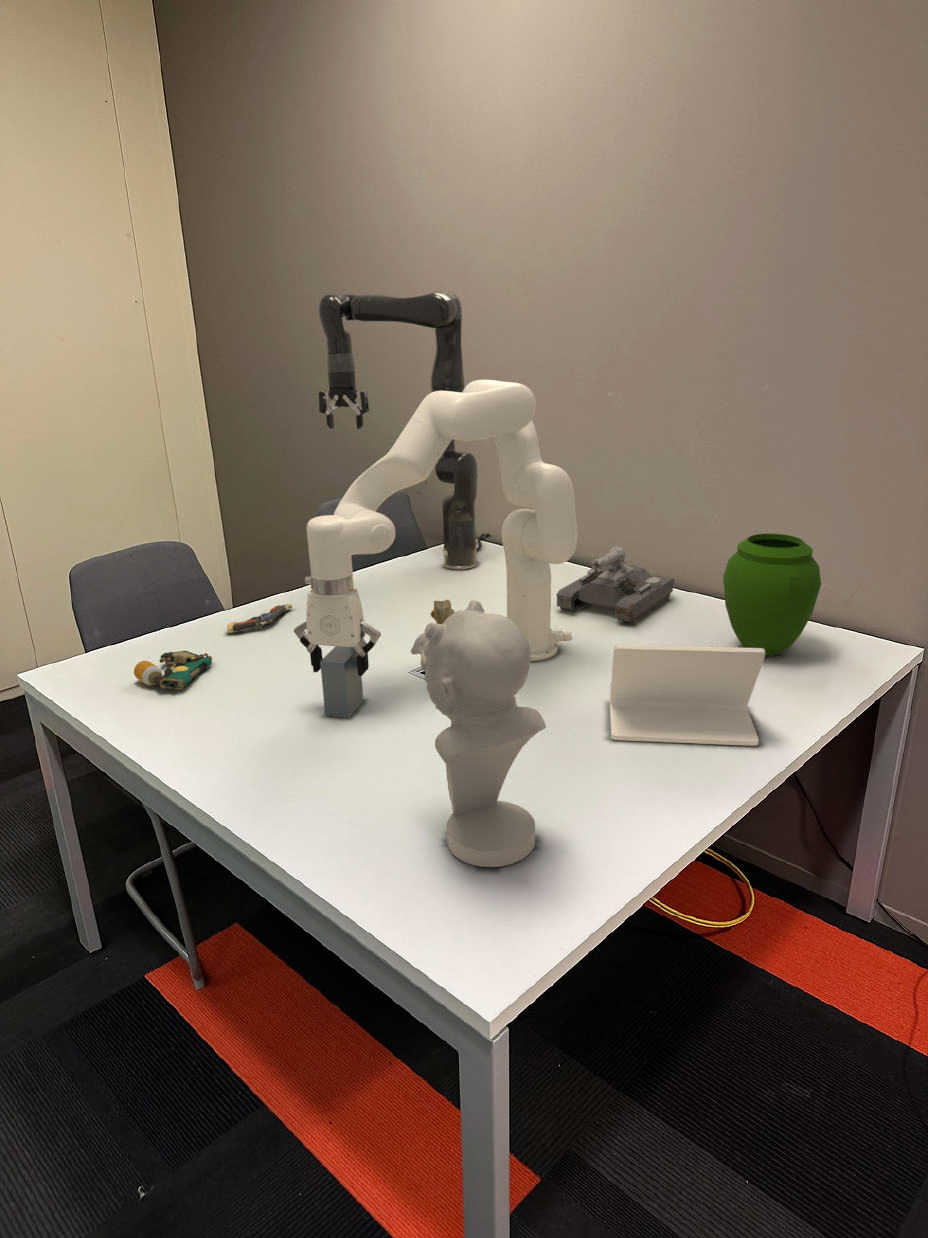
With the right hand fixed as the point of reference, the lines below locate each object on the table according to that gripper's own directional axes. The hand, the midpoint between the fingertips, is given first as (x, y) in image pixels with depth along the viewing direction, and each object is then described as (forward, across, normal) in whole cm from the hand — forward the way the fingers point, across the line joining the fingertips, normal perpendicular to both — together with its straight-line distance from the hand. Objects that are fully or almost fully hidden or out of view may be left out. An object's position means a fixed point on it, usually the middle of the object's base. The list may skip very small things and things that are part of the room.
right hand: (340, 671), depth 161 cm
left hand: (-31, -34, +96) cm, 107 cm away
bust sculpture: (+8, +34, -34) cm, 49 cm away
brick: (+8, 0, 0) cm, 8 cm away
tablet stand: (+8, +63, +8) cm, 64 cm away
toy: (+8, +46, +68) cm, 82 cm away
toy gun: (+8, -38, +41) cm, 56 cm away
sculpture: (+8, +15, +21) cm, 27 cm away
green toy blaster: (+8, -41, +8) cm, 42 cm away
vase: (+8, +80, +44) cm, 92 cm away
